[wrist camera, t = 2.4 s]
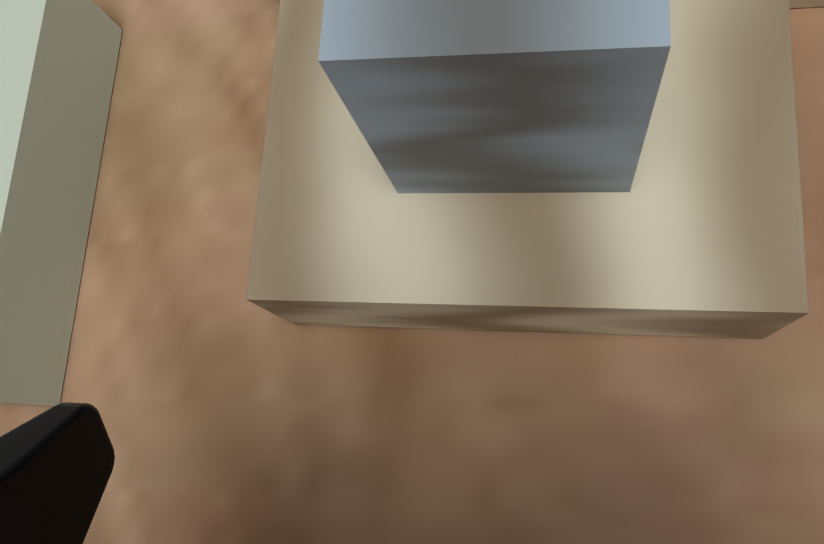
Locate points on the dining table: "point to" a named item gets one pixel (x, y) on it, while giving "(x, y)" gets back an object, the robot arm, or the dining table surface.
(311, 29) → the beige stepped piece
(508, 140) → the slate block
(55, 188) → the pad
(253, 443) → the dining table surface
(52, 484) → the robot arm
